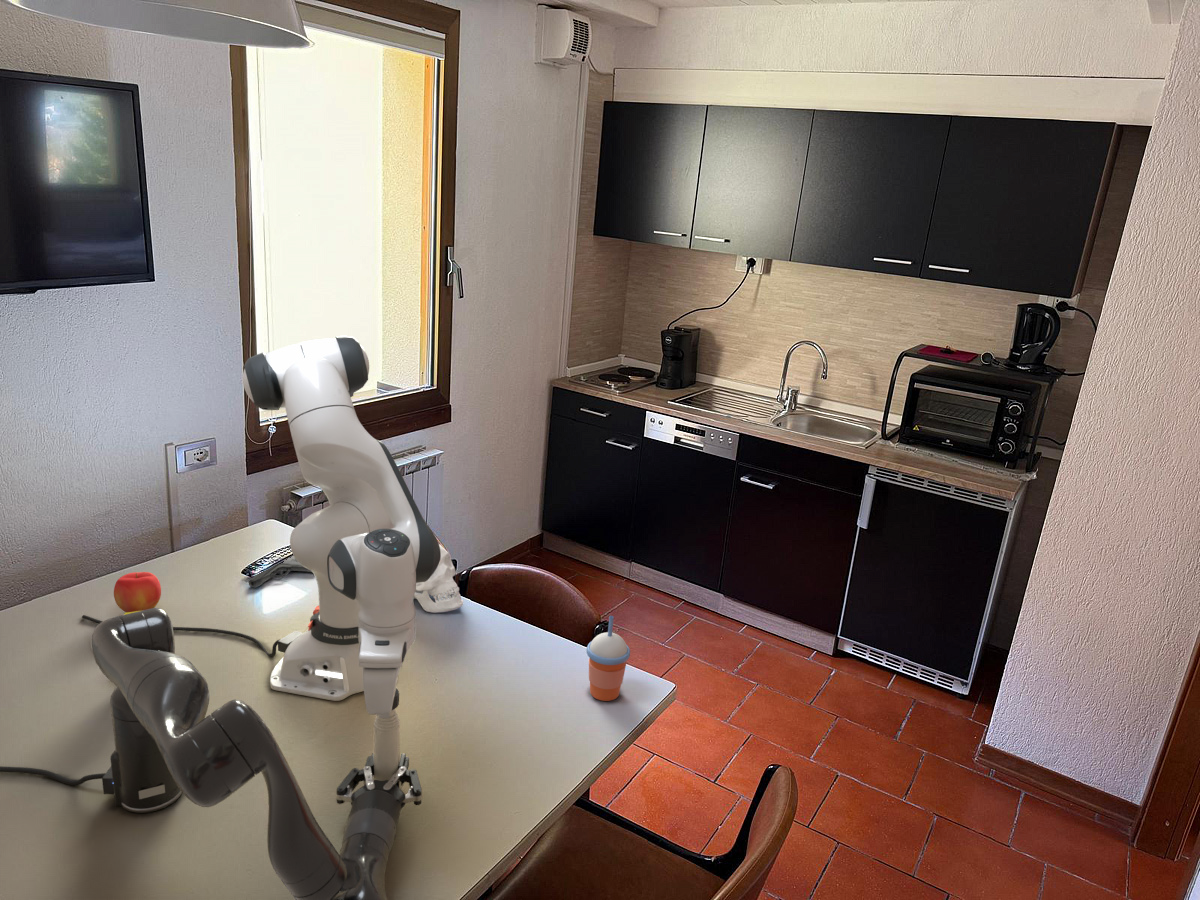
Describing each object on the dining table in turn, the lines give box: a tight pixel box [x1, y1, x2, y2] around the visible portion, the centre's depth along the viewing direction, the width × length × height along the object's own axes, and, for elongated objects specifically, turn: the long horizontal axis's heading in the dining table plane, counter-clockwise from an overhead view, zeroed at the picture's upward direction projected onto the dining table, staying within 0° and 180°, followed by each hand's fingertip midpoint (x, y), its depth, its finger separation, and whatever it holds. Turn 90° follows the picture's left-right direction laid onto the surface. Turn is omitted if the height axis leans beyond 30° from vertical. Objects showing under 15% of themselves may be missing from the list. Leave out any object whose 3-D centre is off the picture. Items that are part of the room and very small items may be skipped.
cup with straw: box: [586, 615, 631, 702], centre depth 178 cm, size 9×9×18 cm
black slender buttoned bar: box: [248, 556, 313, 588], centre depth 220 cm, size 2×18×12 cm
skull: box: [413, 543, 465, 614], centre depth 211 cm, size 13×22×16 cm, turn 67°
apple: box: [113, 571, 162, 613], centre depth 195 cm, size 10×10×10 cm
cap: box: [392, 687, 400, 710], centre depth 140 cm, size 4×4×2 cm
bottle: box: [373, 708, 401, 781], centre depth 143 cm, size 4×4×20 cm
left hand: (389, 757), depth 146 cm, fingers closed on bottle, 4 cm apart
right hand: (386, 705), depth 140 cm, fingers open, 4 cm apart
